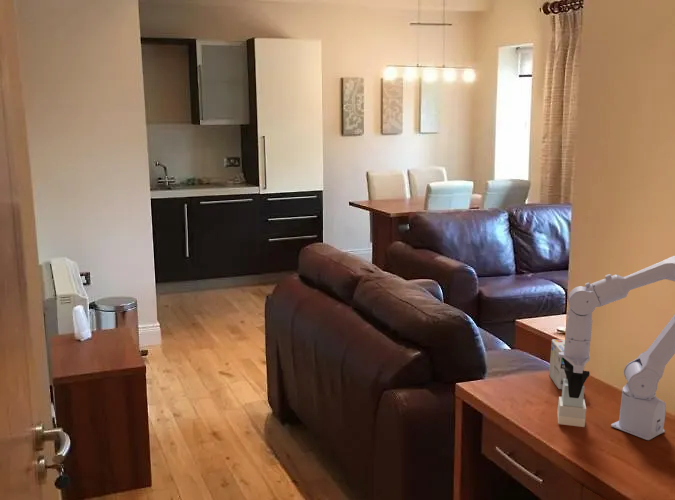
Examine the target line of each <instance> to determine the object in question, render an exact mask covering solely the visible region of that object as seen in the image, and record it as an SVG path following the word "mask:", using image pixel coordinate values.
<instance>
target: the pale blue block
mask: <svg viewBox="0 0 675 500" xmlns="http://www.w3.org/2000/svg"><path fill="white" fill-rule="evenodd" d="M584 395H585V383H584V384H583V387H582V390H581V393H580V396H579V398H571V397H569V391H568V380H567V379H563V389H561V397H562V403H563V405H566V406H575V407H583V399H585V396H584Z"/></svg>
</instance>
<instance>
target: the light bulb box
mask: <svg viewBox="0 0 675 500" xmlns="http://www.w3.org/2000/svg"><path fill="white" fill-rule="evenodd" d="M564 347H565V339H551V346H550V348H551V349H550V357H549V359H550V360H549V369H548V371H549V372H548V376H549V378H550V379H551V381H553V383H554V384H555V386H556V388H558V390H562V389H563V379H566V374H565V371H564V367H565V364H564V361H563V359H562V357H559V352H564ZM585 365H586V364H585ZM585 365H584V366H583V371H585V368H586V367H585Z"/></svg>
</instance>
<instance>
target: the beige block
mask: <svg viewBox="0 0 675 500" xmlns="http://www.w3.org/2000/svg"><path fill="white" fill-rule="evenodd" d="M557 404H558V405H557V410H558V411H559V416H565V417H573V418H581V419H585V420H586V417H587V416H586V414H587V406H586V400H585V398H583V407H575V406H566V405H563V403H562V396H558V402H557Z"/></svg>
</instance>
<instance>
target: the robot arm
mask: <svg viewBox="0 0 675 500" xmlns="http://www.w3.org/2000/svg"><path fill="white" fill-rule="evenodd" d="M662 280H668V281H672V282H675V255H672V256H670V257H668V258H665V259H664V260H661V261H659V262H657V263H653V264H651V265H650V266H646V267H644V268H642V269H639V270H638V271H635V272H632V273H631V274H628V275H625V276H621V275H619V274H616V273H615V274H613V275H612V274H611V273H608V274H605V275H604V278H602V279H599V280H597V281H594V282H592V283H590V282H589V281H588V282H586V283H585V284H584V286H582V285H580V286H579V285H578V286H575V287H574V288H572V289H571V290H570V291H569V294H568V295H567V301H568V305H569V306H568V311H567V317H566V326H565V327H566V328H565V339H564V340H565V347H564V352H559V357H562V359H563V361H564V364H565V367H564V371H565V374H566V379H567V380H568V391H569V397H571V398H579V396H580V393H581V390H582V387H583V384H584V385H585V383H586V382H587V381H586V380H587V379H588V378H589V376H590V374H591V373H590V371H589V370H584V371H583V366H584V365H587V363H588V362H589V361H590V359H591V356H590V351H591V350H590V349H591V348H590V347H591V341H592V340H591V339H592V331H593V318H592V317H593V313H594V311H595V310H596V308H599V307H600V308H602V307H603V306H606V305H608V304H610V303H614V302H617V301H620V300H622V299H625V298H627V296H628V294H629V293H630V291H631V290H635V289H637V288H641V287H644V286H647V285H650V284H654V283H657V282H659V281H660V282H661V281H662ZM673 356H675V314H674V315H673V316H672V317H671V318H670V320H669V321H668V323H667V324H665V326H664V328H662V330H661V331H660V332H659V334H658V335H657V337H656V338H655V339H654V341H653V342H652V343H651V345H649V347H648V348H647V349H646V350H645V351H643V352H641V353H640V354H639V355H638V357H636V358H635V359H634V360H631V361H630V362H628V363H627V364H626V365H625V367H624V369H623V375H624V378H625V380H626V382H625V383H626V384H625V385H624V386H623V387H622V391H621V399H620V406H619V407H620V408H619V409H620V410H619V419H618V420H617V421H615V422H613V423H611V424H610V427H612V428H615V429H618V430H620V431H622V432H625V433H628V434H630V435H632V436H636V437H638V438H640V439H643V440H646V441H650V440H652V439H653V438H655V437H657V436H659V435H661V434H663V433H665V431H666V430H665V429H664V427H665V418H666V412H667V411H666V410H667V405H666V402H665V401H664V400H662V399H660V398H659V397H657V396H656V392H657V390H658V384H659V382H660V380H661V379H662V378H663V375H664V372H665V368H666V365H668V363H670V361H671V359H672V358H673Z"/></svg>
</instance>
